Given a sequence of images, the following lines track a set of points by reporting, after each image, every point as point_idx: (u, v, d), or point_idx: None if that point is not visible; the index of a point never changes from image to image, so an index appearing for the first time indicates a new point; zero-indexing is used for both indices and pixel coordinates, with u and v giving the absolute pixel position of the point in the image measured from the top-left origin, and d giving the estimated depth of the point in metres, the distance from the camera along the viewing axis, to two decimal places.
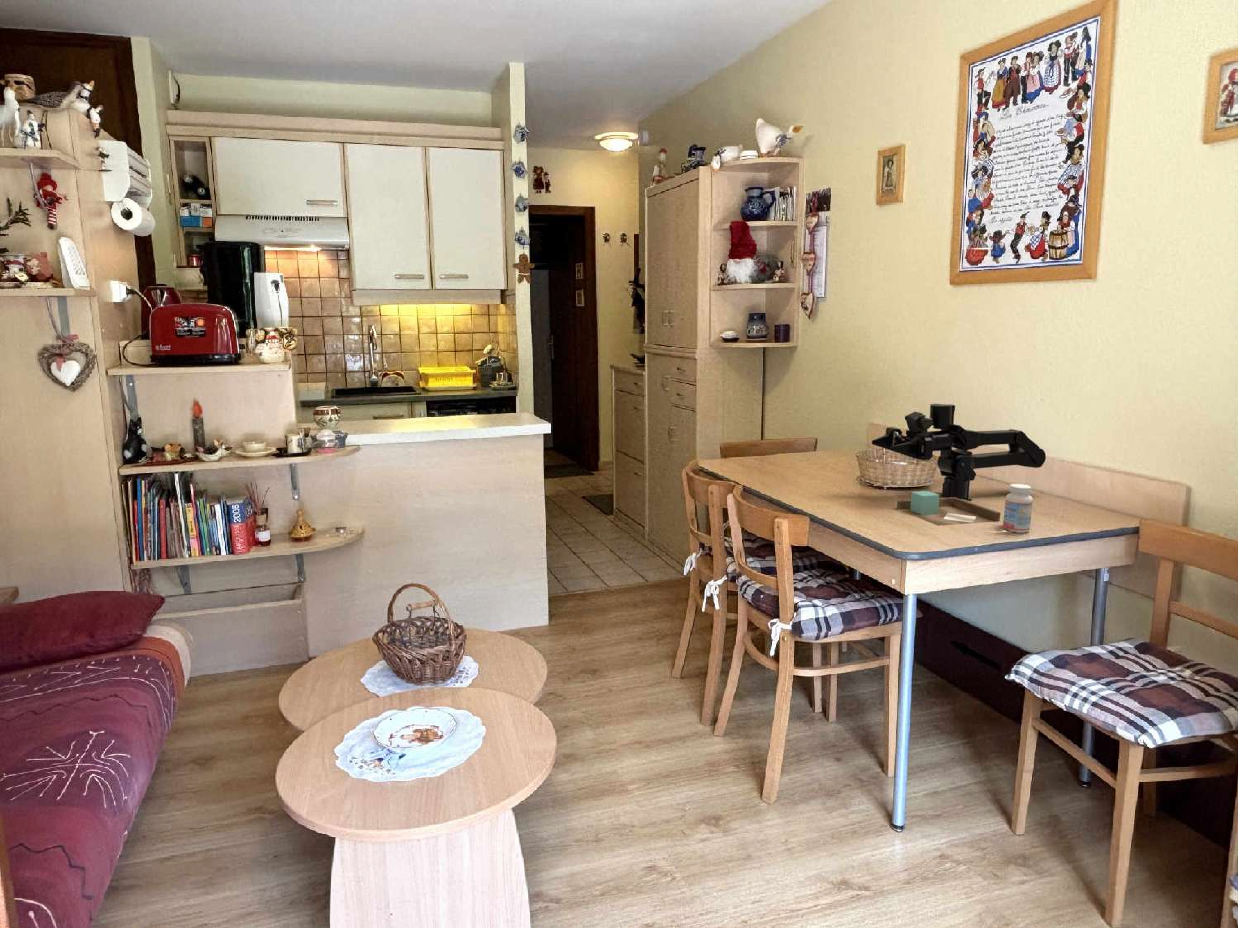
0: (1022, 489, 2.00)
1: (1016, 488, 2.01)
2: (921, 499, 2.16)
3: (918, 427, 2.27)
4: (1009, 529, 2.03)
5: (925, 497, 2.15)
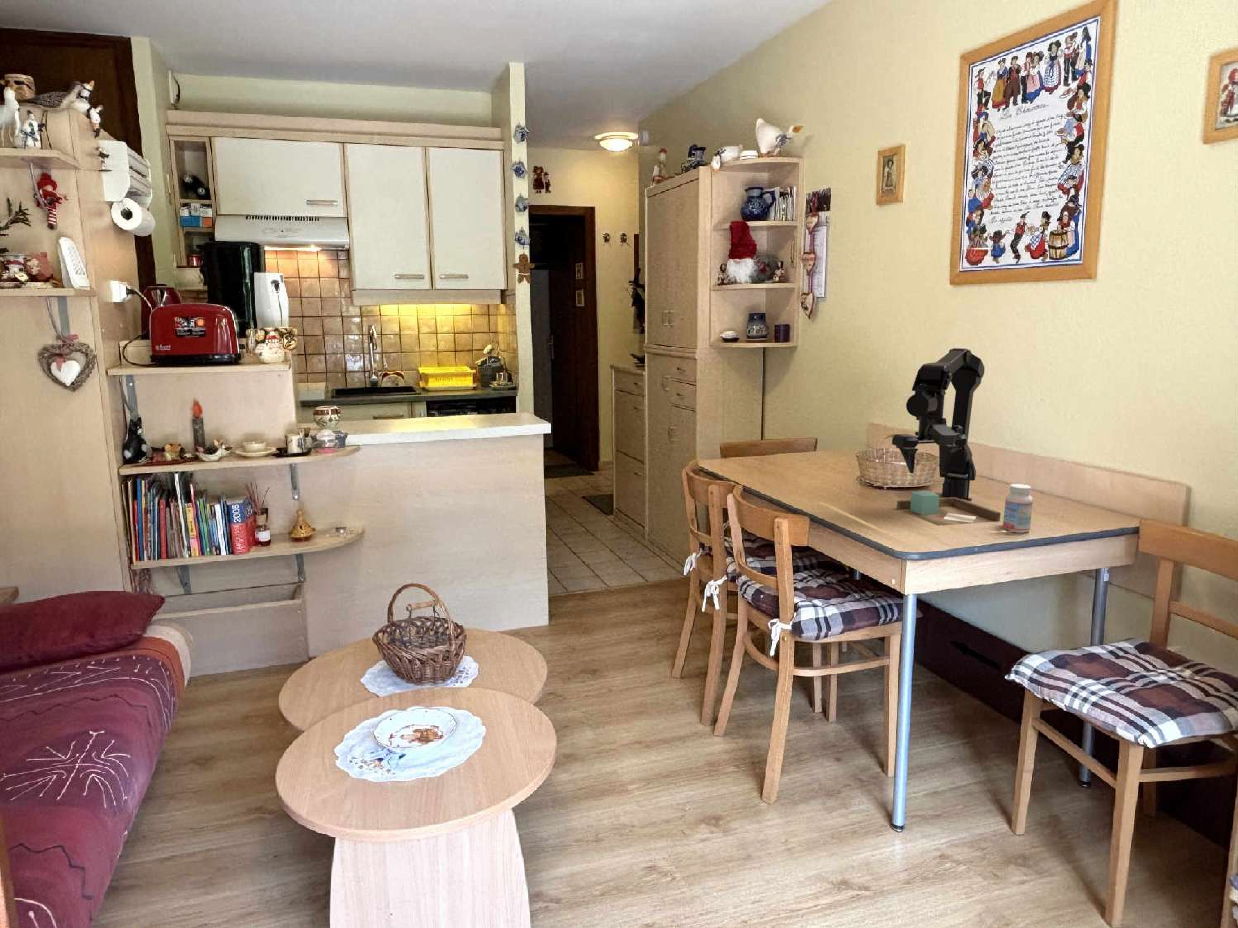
0: (1022, 489, 2.00)
1: (1016, 488, 2.01)
2: (921, 499, 2.16)
3: None
4: (1009, 529, 2.03)
5: (925, 497, 2.15)
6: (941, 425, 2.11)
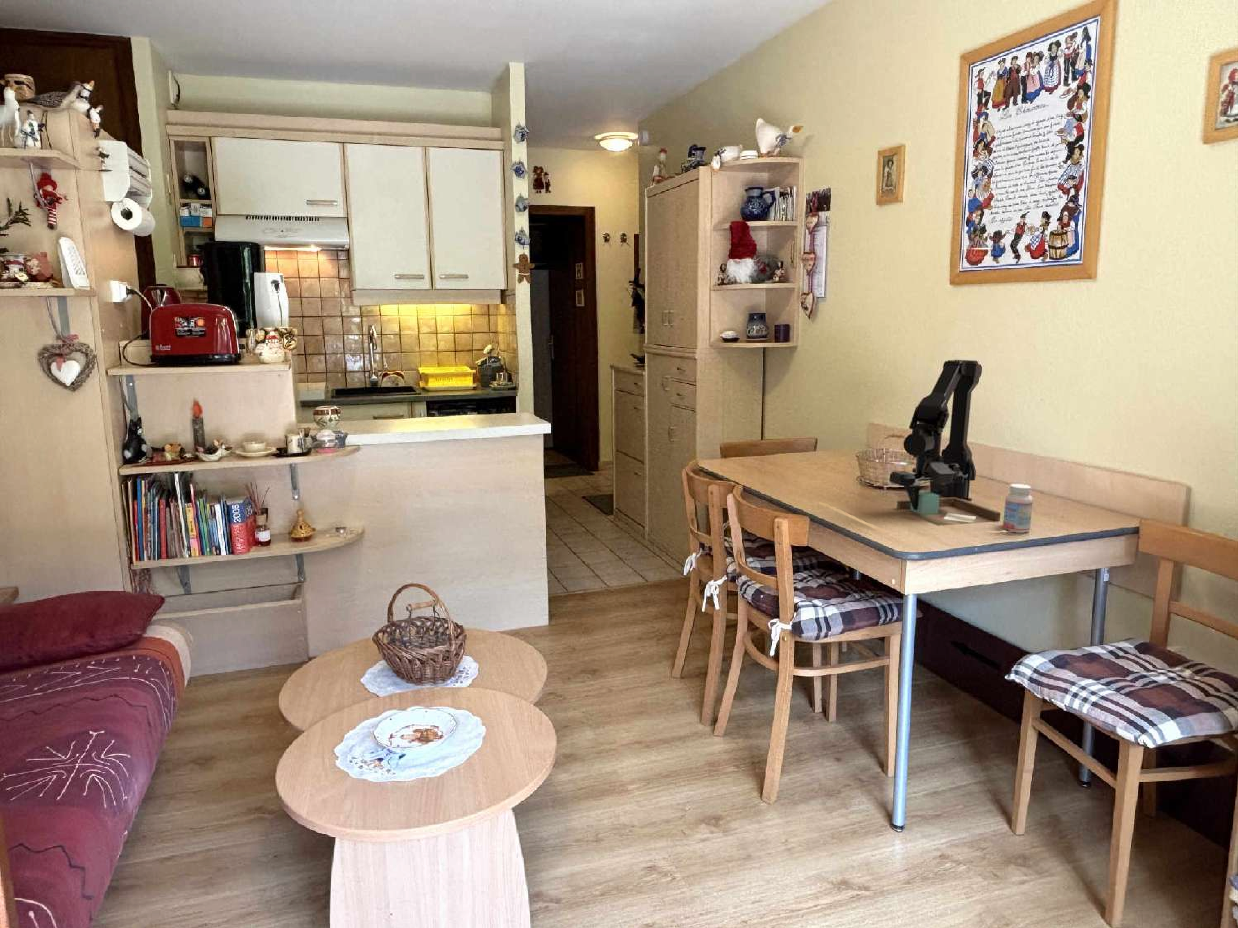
0: (1022, 489, 2.00)
1: (1016, 488, 2.01)
2: (921, 499, 2.16)
3: None
4: (1009, 529, 2.03)
5: (925, 497, 2.15)
6: (938, 463, 2.13)
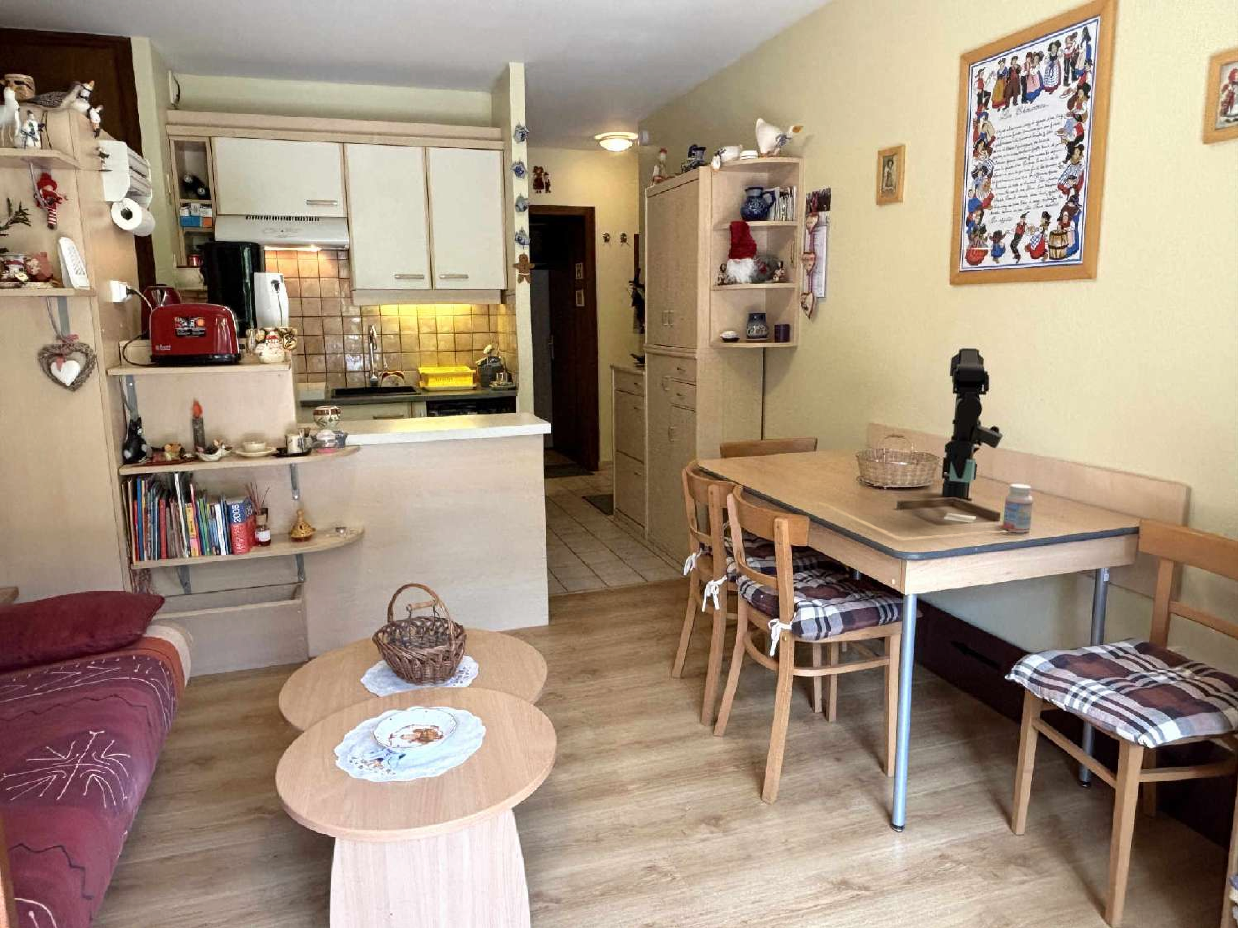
0: (1022, 489, 2.00)
1: (1016, 488, 2.01)
2: (969, 466, 2.07)
3: None
4: (1009, 529, 2.03)
5: (972, 464, 2.08)
6: (982, 427, 2.07)
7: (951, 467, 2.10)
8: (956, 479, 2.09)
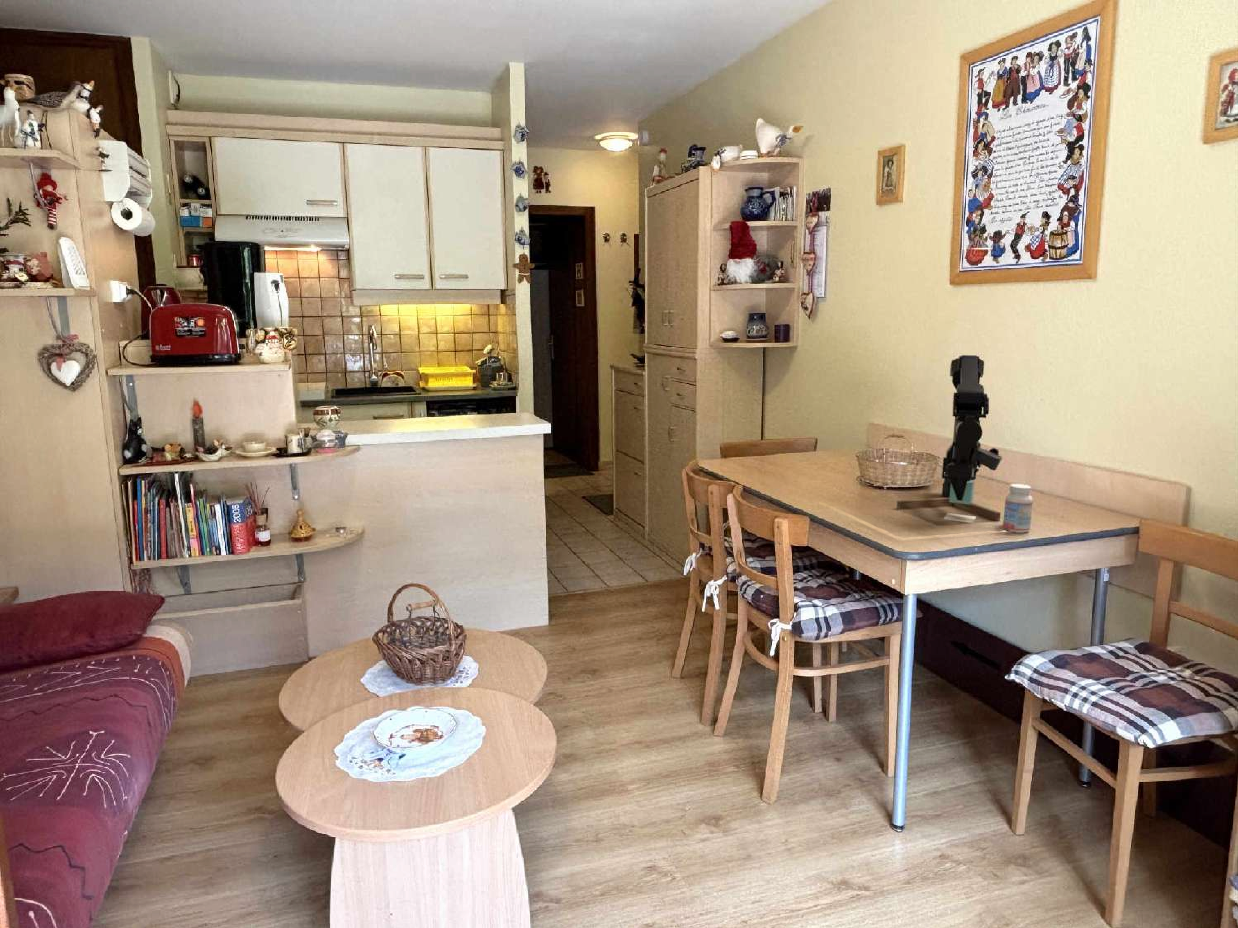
0: (1022, 489, 2.00)
1: (1016, 488, 2.01)
2: (969, 488, 2.08)
3: None
4: (1009, 529, 2.03)
5: (972, 486, 2.08)
6: (982, 450, 2.08)
7: (951, 489, 2.10)
8: (956, 501, 2.10)
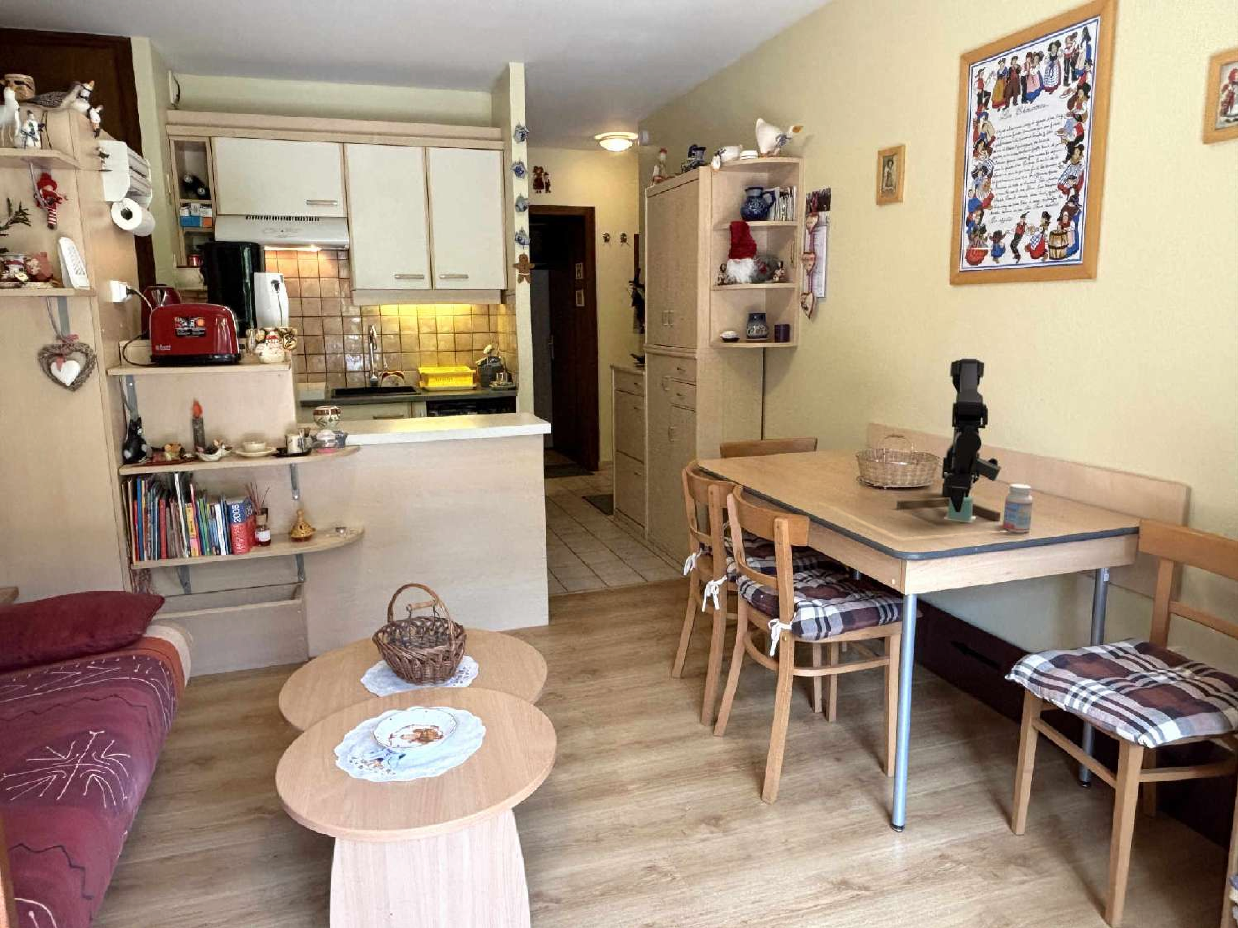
0: (1022, 489, 2.00)
1: (1016, 488, 2.01)
2: (967, 505, 2.09)
3: None
4: (1009, 529, 2.03)
5: (970, 502, 2.09)
6: (981, 460, 2.08)
7: (949, 505, 2.11)
8: (954, 517, 2.11)
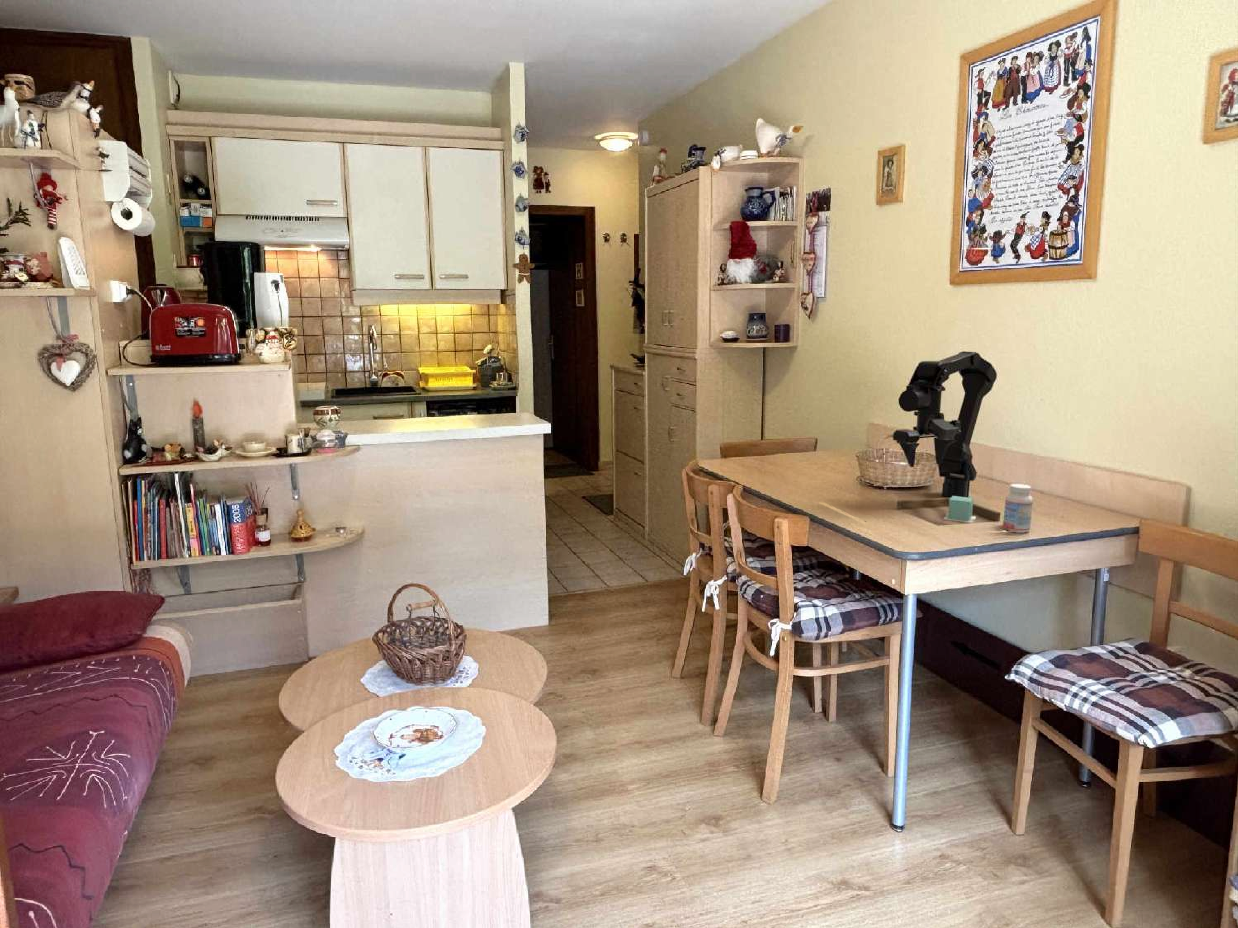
0: (1022, 489, 2.00)
1: (1016, 488, 2.01)
2: (967, 505, 2.09)
3: None
4: (1009, 529, 2.03)
5: (970, 502, 2.09)
6: (940, 420, 2.19)
7: (949, 505, 2.11)
8: (954, 517, 2.11)
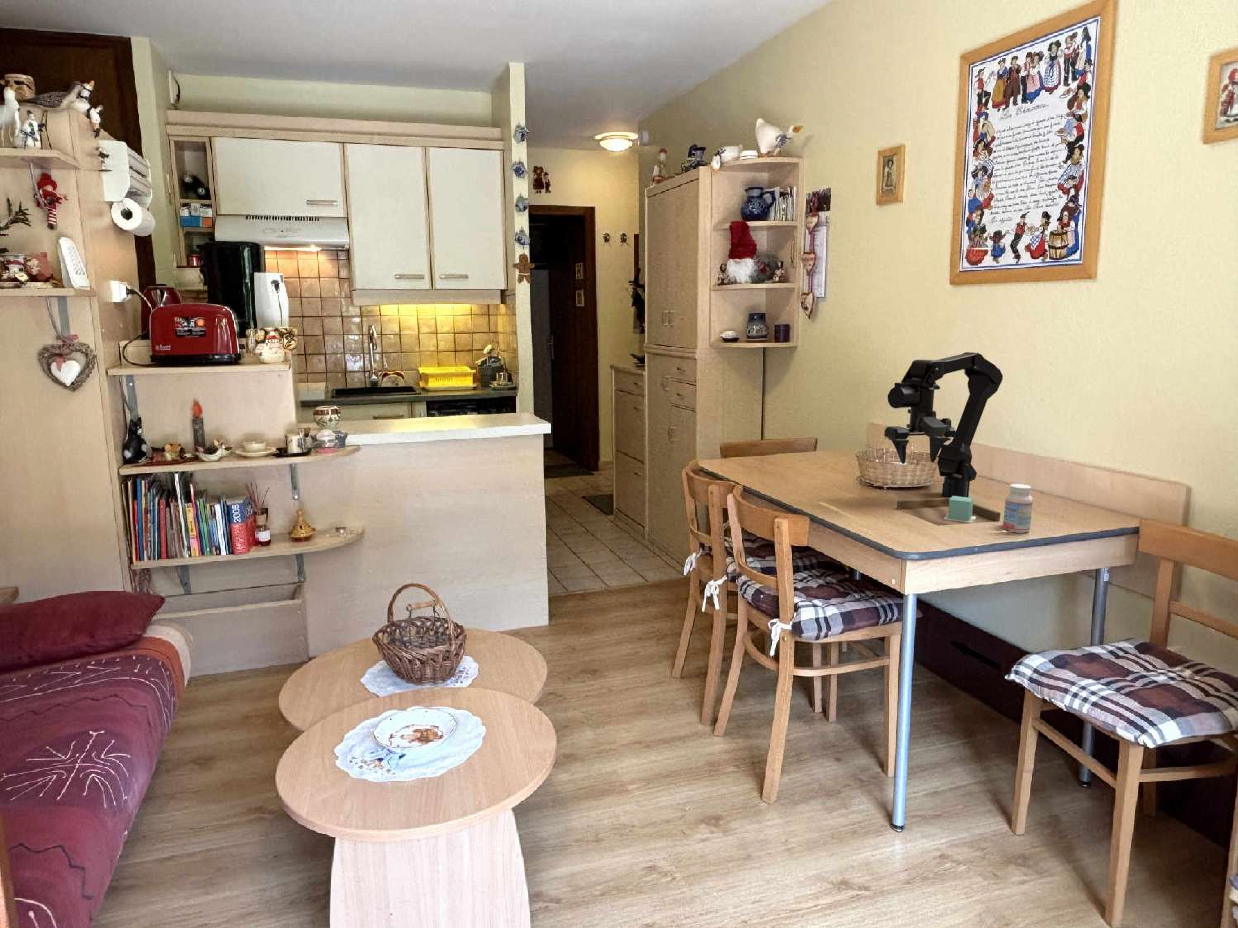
0: (1022, 489, 2.00)
1: (1016, 488, 2.01)
2: (967, 505, 2.09)
3: None
4: (1009, 529, 2.03)
5: (970, 502, 2.09)
6: (931, 418, 2.22)
7: (949, 505, 2.11)
8: (954, 517, 2.11)
